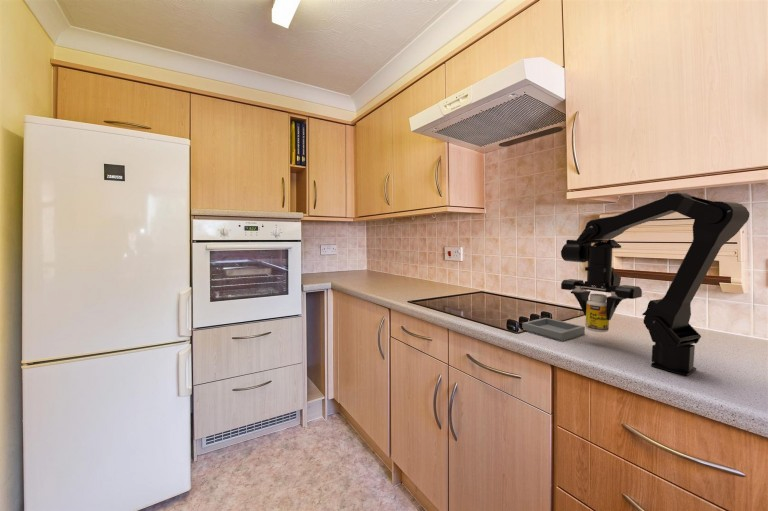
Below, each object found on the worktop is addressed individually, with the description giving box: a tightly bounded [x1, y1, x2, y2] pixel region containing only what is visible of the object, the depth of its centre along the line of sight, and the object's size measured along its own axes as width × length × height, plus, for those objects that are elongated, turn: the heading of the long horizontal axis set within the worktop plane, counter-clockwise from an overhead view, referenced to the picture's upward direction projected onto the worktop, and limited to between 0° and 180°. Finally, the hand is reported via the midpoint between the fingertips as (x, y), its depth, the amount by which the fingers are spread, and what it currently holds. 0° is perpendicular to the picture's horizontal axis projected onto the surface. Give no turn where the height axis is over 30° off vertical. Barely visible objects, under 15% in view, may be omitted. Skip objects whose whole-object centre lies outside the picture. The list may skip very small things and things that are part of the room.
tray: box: [521, 317, 586, 342], centre depth 102 cm, size 13×13×2 cm
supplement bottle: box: [585, 293, 610, 333], centre depth 91 cm, size 6×6×10 cm
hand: (597, 317), depth 91 cm, fingers closed on supplement bottle, 5 cm apart
